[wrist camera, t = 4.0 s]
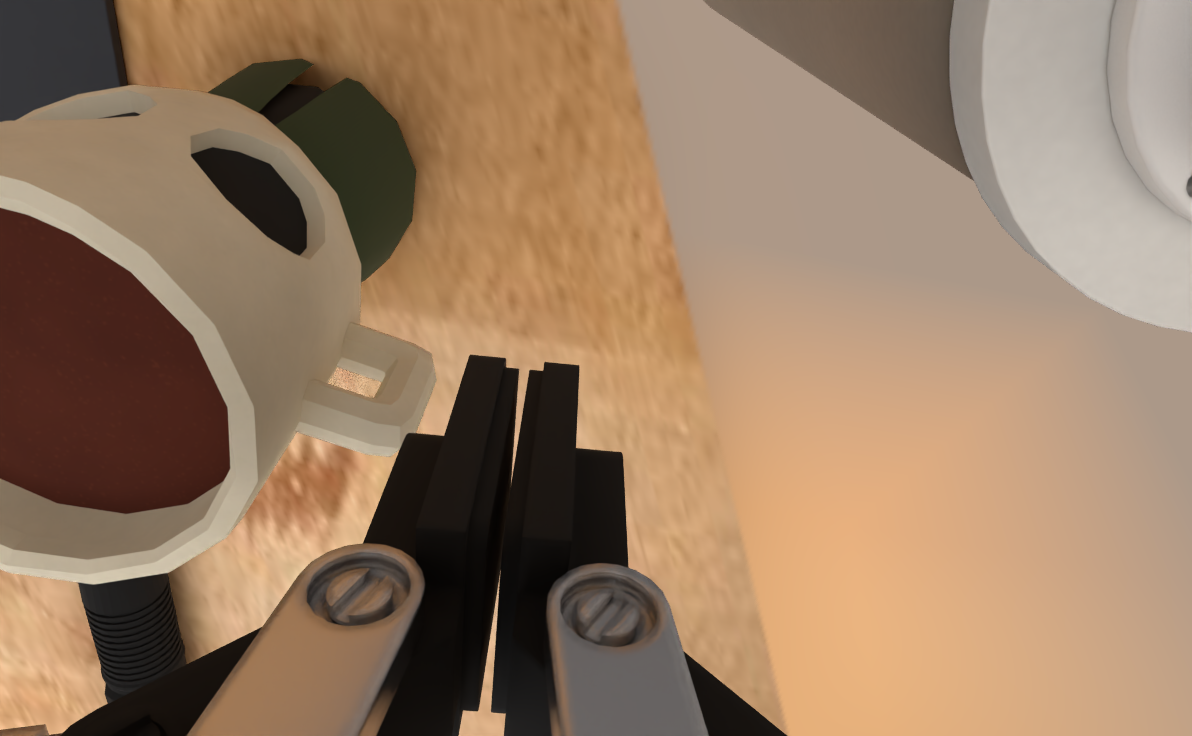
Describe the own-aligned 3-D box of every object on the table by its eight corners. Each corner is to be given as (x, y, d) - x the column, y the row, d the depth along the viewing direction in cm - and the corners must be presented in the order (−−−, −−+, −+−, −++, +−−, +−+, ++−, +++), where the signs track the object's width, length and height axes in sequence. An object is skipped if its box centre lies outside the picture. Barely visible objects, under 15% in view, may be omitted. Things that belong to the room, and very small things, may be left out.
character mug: (530, 127, 22) (447, 333, 10) (457, 335, 25) (331, 664, 14) (134, -37, 20) (-497, -5, 9) (110, 211, 23) (-371, 473, 12)
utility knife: (234, 825, 39) (207, 889, 36) (153, 818, 38) (120, 883, 36) (168, 483, 28) (123, 539, 25) (56, 472, 28) (-1, 527, 25)
